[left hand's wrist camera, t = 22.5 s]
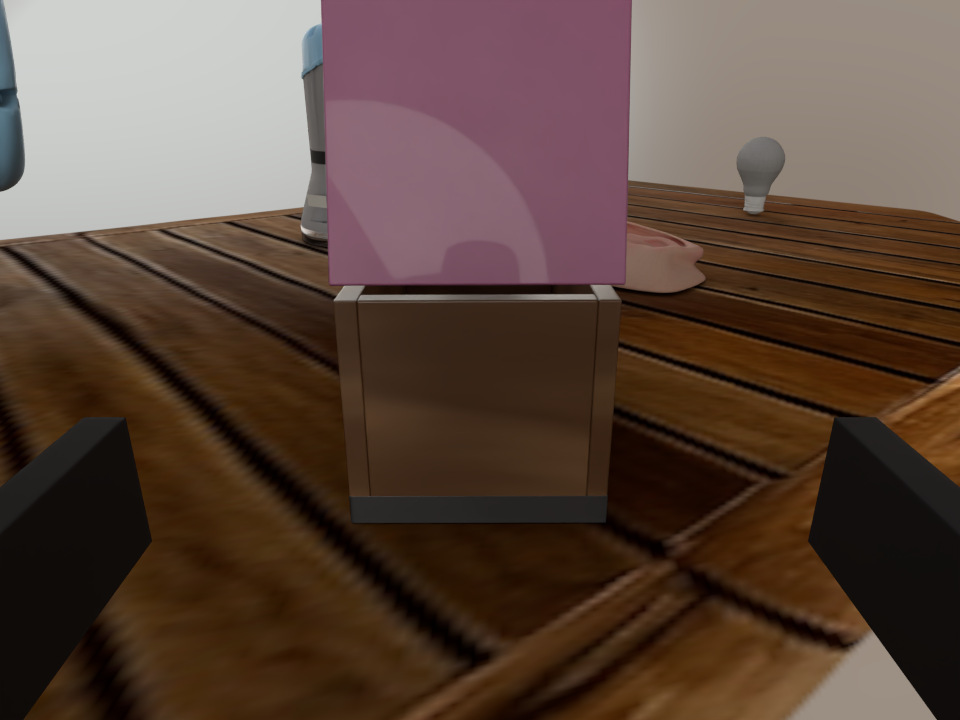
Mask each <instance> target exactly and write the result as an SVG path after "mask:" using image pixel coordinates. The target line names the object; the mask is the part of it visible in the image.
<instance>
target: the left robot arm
mask: <svg viewBox="0 0 960 720" xmlns="http://www.w3.org/2000/svg"><path fill="white" fill-rule="evenodd" d="M16 94H17V86H16V77H15V67H14V60H13V53H12V47H11V41H10V35H9V29H8V23H7V18H6V13H5V7H4V3H3V0H0V192H1V191H4V190H7V189H9V188H11V187H13V186H14V185H16V184H17V183H18V181H19V180H20V179H21V177H22V175H23V172H24V167H25V153H24V139H23V129H22V120H21V113H20V106H19V101H18V98H17V95H16ZM151 542H152V539H151V534H150V530H149V525H148V520H147V516H146V511H145V506H144V502H143V497H142V492H141V488H140V483H139V478H138V474H137V469H136V464H135V460H134V455H133V450H132V446H131V441H130V436H129V432H128V427H127V422H126V418H125V417H84V418H83V419H82V420H80V421H79V422H78V423H77V424H76V425H74V426H73V427H72V428H71V429H70V430H68V431H67V432H66V433H65V434H64V435H62V436H61V437H60V438H59V439H58V440H56V441H55V442H54V443H53V444H52V445H50V446H49V447H48V448H47V449H46V450H44V451H43V452H42V453H41V454H40V455H39V456H37V457H36V458H35V459H34V460H33V461H31V462H30V463H29V464H28V465H27V466H25V467H24V468H23V469H22V470H21V471H19V472H18V473H17V474H16V475H15V476H13V477H12V478H11V479H10V480H9V481H7V482H6V483H5V484H4V485H3V486H1V487H0V720H23V719H24V718H25V716H26V715H27V714H28V712H29V711H30V709H31V708H32V707H33V705H34V704H35V702H36V701H37V700H38V698H39V697H40V696H41V694H42V693H43V691H44V690H45V689H46V687H47V686H48V684H49V683H50V682H51V680H52V679H53V678H54V676H55V675H56V673H57V672H58V671H59V669H60V668H61V666H62V665H63V664H64V662H65V661H66V660H67V658H68V657H69V655H70V654H71V653H72V651H73V650H74V648H75V647H76V646H77V644H78V643H79V641H80V640H81V639H82V637H83V636H84V635H85V633H86V632H87V630H88V629H89V628H90V626H91V625H92V623H93V622H94V621H95V619H96V618H97V617H98V615H99V614H100V612H101V611H102V610H103V608H104V607H105V605H106V604H107V603H108V601H109V600H110V599H111V597H112V596H113V594H114V593H115V592H116V590H117V589H118V587H119V586H120V585H121V583H122V582H123V581H124V579H125V578H126V576H127V575H128V574H129V572H130V571H131V569H132V568H133V567H134V565H135V564H136V563H137V561H138V560H139V558H140V557H141V556H142V554H143V553H144V551H145V550H146V549H147V547H148V546H149V544H150V543H151ZM808 542H809V543H810V545H811V546H812V547H813V549H814V550H815V551H816V553H817V554H818V556H819V557H820V558H821V560H822V561H823V563H824V564H825V565H826V567H827V568H828V569H829V571H830V572H831V574H832V575H833V576H834V578H835V579H836V581H837V582H838V583H839V585H840V586H841V587H842V589H843V590H844V592H845V593H846V594H847V596H848V597H849V599H850V600H851V601H852V603H853V604H854V605H855V607H856V608H857V610H858V611H859V612H860V614H861V615H862V617H863V618H864V619H865V621H866V622H867V623H868V625H869V626H870V628H871V629H872V630H873V632H874V633H875V635H876V636H877V637H878V639H879V640H880V641H881V643H882V644H883V646H884V647H885V648H886V650H887V651H888V652H889V654H890V655H891V657H892V658H893V659H894V661H895V662H896V664H897V665H898V666H899V668H900V669H901V671H902V672H903V673H904V675H905V676H906V677H907V679H908V680H909V682H910V683H911V684H912V686H913V687H914V688H915V690H916V691H917V693H918V694H919V696H920V697H921V698H922V700H923V701H924V702H925V704H926V705H927V707H928V708H929V709H930V711H931V712H932V714H933V715H934V716H935V718H936V719H937V720H960V487H959V486H957V485H956V484H955V483H954V482H953V481H951V480H950V479H949V478H948V477H947V476H945V475H944V474H943V473H942V472H941V471H939V470H938V469H937V468H936V467H935V466H933V465H932V464H931V463H930V462H929V461H927V460H926V459H925V458H924V457H923V456H921V455H920V454H919V453H918V452H917V451H916V450H914V449H913V448H912V447H911V446H910V445H908V444H907V443H906V442H905V441H904V440H902V439H901V438H900V437H899V436H898V435H896V434H895V433H894V432H893V431H892V430H890V429H889V428H888V427H887V426H886V425H884V424H883V423H882V422H881V421H880V420H878V419H877V418H876V417H835V418H834V422H833V427H832V432H831V436H830V441H829V446H828V450H827V455H826V460H825V464H824V469H823V474H822V478H821V483H820V488H819V492H818V497H817V502H816V506H815V511H814V516H813V520H812V525H811V530H810V534H809V539H808Z"/></svg>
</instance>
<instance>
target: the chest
mask: <svg viewBox="0 0 960 720" xmlns="http://www.w3.org/2000/svg"><path fill="white" fill-rule="evenodd" d="M621 302H622V301H621V299H620V298H619V296H618V295H617V293H616V292H615V290H614V289H613V287H612V286H611V285H417V286H344V287H343V289H342V290H341V291H340V293H339V294H338V296H337V297H336V298H335V300H334V302H333V303H334V315H335V327H336V339H337V351H338V362H339V374H340V386H341V398H342V410H343V422H344V434H345V445H346V457H347V469H348V481H349V493H350V496H349V500H350V511H351V523H597V522H606V513H607V500H608V495H607V491H608V477H609V464H610V451H611V437H612V424H613V410H614V397H615V383H616V370H617V356H618V343H619V329H620V316H621Z"/></svg>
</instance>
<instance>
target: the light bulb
mask: <svg viewBox="0 0 960 720" xmlns="http://www.w3.org/2000/svg"><path fill="white" fill-rule="evenodd" d="M784 162H785V154H784V151H783V149H782V147H781V146H780V144H779V143H778V142H777V141H775V140H773V139H771V138H767V137H760V138H755V139H753V140H751V141H749V142H748V143H746V144H745V145H744V146H743V148H742V149H741V150H740V152H739V154H738V157H737V169H738V172H739V174H740V176H741V179H742V182H743V185H744V194H745V200H746V201H744V202H745V203H746V204H744V205H745V207H744V209H743V210H745V211H746V212H748V213H750V214H758V213H760V212H762V211H764V209H763V207H764V206H763V205H764V201H765V199H766V196H767V194H768V193H769V190H770V187H771V184H772V183H773V182H774V180H775V179H776V177H777V176H778V175H779V173H780V172H781V170H782V168H783V166H784Z"/></svg>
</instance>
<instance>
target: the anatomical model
mask: <svg viewBox="0 0 960 720" xmlns="http://www.w3.org/2000/svg"><path fill="white" fill-rule="evenodd" d="M703 253H704V251H703V249H702V248H701V247H700V246H697V245H695V244H693V243H690V242H688V241H685V240H683V239H681V238H679V237H676V236H674V235H671V234H668V233H665V232H662V231H659V230H655V229H652V228H649V227H645V226H642V225H639V224H635V223H631V222H628V221H627V250H626V283H625V284H624V285H611V286H614V287H619V288H625V289H631V290H637V291H645V292H655V293H672V292H678V291H681V290H685V289H688V288H691V287H693V286H696V285H698V284H700V283H702V282H703V281H704V280H705V279H706V278H705V276H704V274H702V273H701V272H700V271H699V270H698V269H697V268H696V267H695V265H694V263H695V262H696V261H698V260H699V259H701V258H702V256H703Z"/></svg>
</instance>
